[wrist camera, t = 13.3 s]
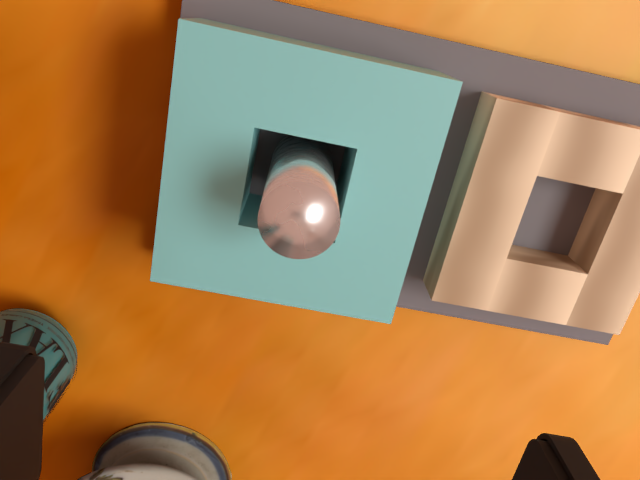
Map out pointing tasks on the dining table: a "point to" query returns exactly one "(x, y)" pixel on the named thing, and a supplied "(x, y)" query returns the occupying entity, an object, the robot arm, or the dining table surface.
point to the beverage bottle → (43, 348)
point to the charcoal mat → (451, 129)
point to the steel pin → (299, 199)
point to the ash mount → (508, 207)
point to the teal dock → (307, 122)
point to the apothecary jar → (158, 455)
